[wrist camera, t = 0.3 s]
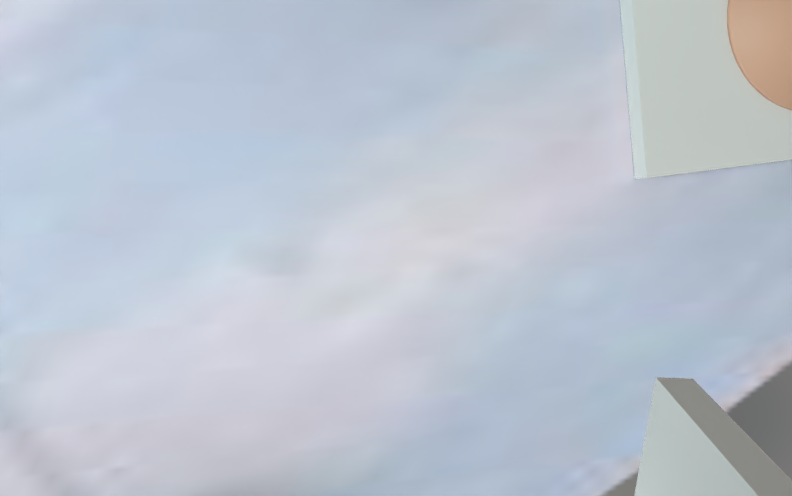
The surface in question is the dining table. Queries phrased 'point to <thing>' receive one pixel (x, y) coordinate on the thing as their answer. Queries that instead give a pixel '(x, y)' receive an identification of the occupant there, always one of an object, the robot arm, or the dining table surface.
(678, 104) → the breaker board
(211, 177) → the dining table surface
